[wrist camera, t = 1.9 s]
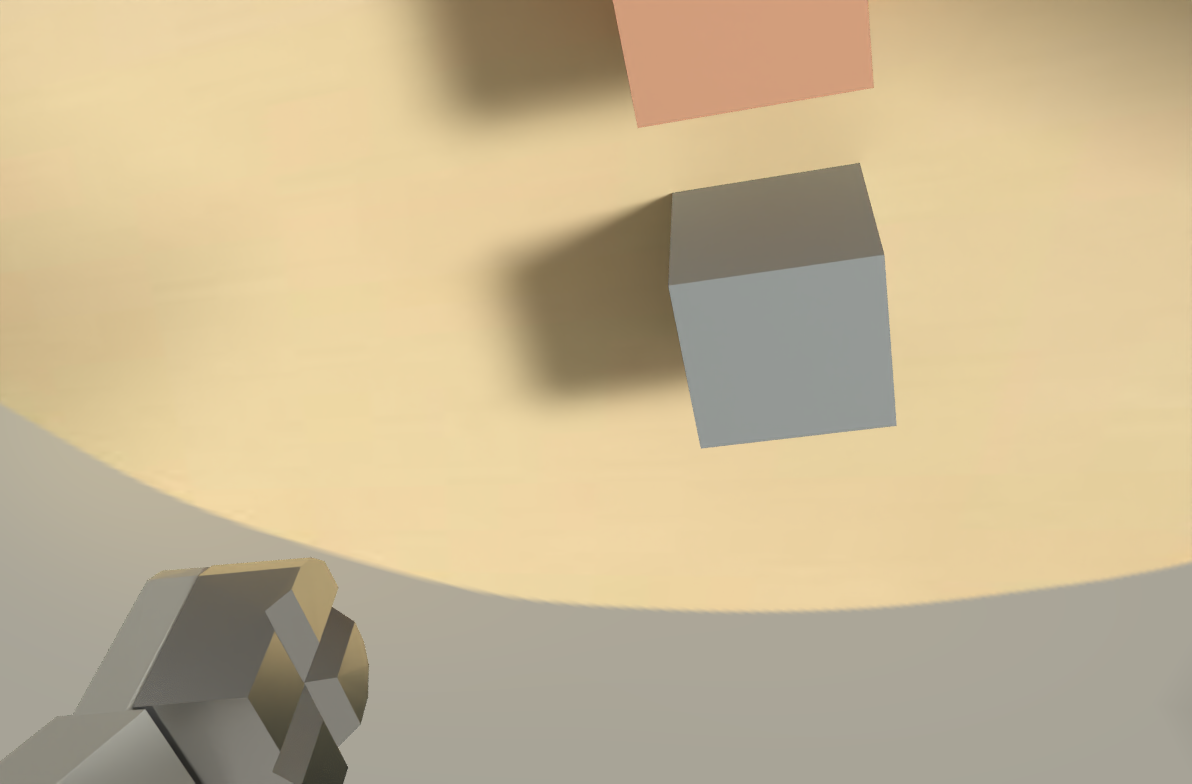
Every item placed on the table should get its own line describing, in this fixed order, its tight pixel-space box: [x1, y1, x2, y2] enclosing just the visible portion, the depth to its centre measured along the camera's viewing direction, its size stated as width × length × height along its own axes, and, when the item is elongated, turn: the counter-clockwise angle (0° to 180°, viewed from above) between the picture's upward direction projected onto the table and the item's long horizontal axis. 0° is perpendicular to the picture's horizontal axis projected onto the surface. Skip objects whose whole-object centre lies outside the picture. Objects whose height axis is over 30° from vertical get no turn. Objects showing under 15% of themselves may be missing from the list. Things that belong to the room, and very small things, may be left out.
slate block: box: [668, 163, 896, 448], centre depth 29 cm, size 5×5×5 cm
